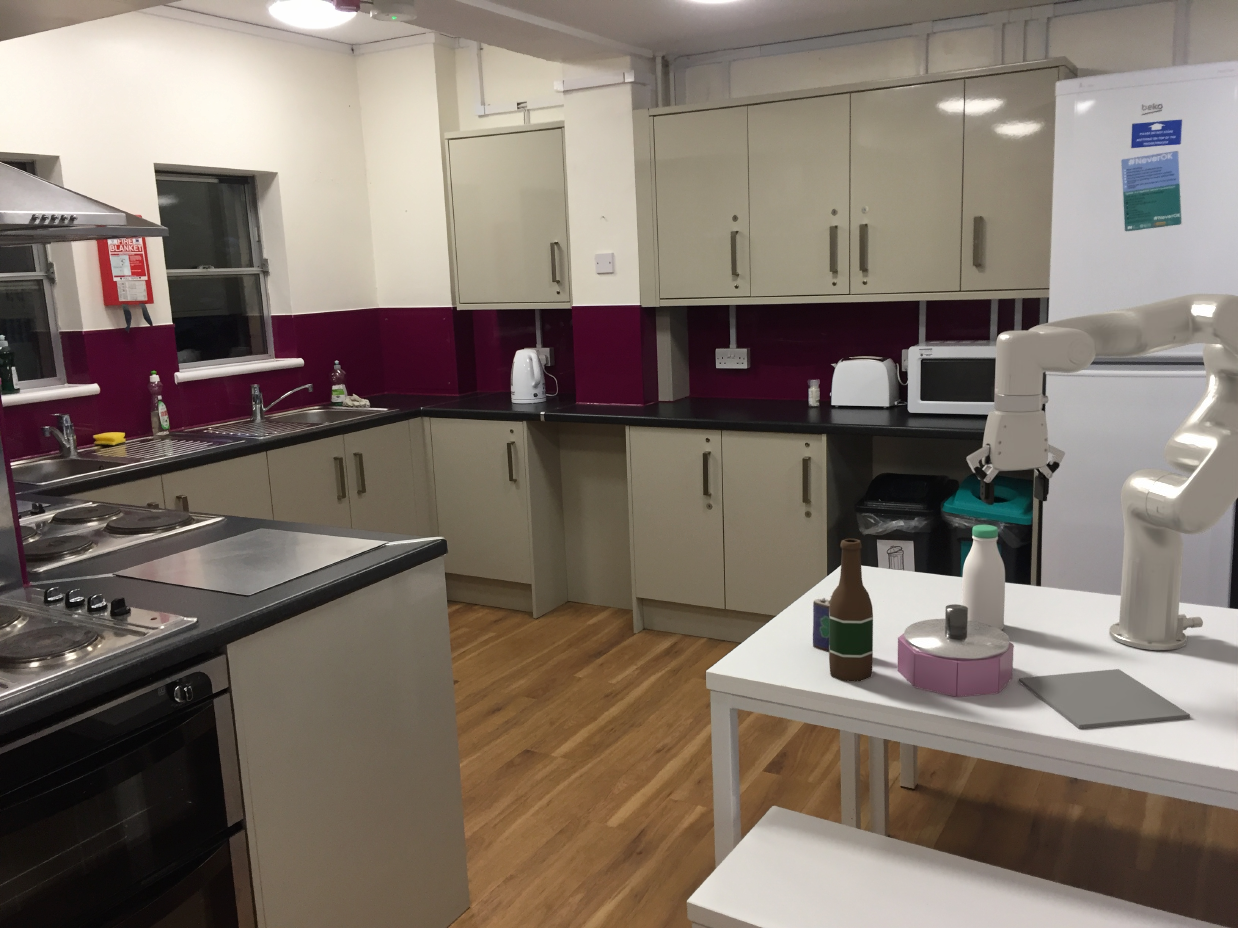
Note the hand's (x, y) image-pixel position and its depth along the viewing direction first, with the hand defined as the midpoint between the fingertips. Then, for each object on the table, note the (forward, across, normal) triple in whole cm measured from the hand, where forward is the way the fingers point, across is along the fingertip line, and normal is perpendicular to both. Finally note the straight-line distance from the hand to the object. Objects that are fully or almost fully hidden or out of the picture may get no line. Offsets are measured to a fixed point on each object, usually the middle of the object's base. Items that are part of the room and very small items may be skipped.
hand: (1014, 501), depth 175 cm
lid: (+22, +13, +6) cm, 26 cm away
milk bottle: (+28, -2, -14) cm, 32 cm away
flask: (+29, +29, -9) cm, 42 cm away
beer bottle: (+28, +30, +2) cm, 41 cm away
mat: (+28, -5, +20) cm, 35 cm away
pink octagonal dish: (+28, +13, +6) cm, 32 cm away
